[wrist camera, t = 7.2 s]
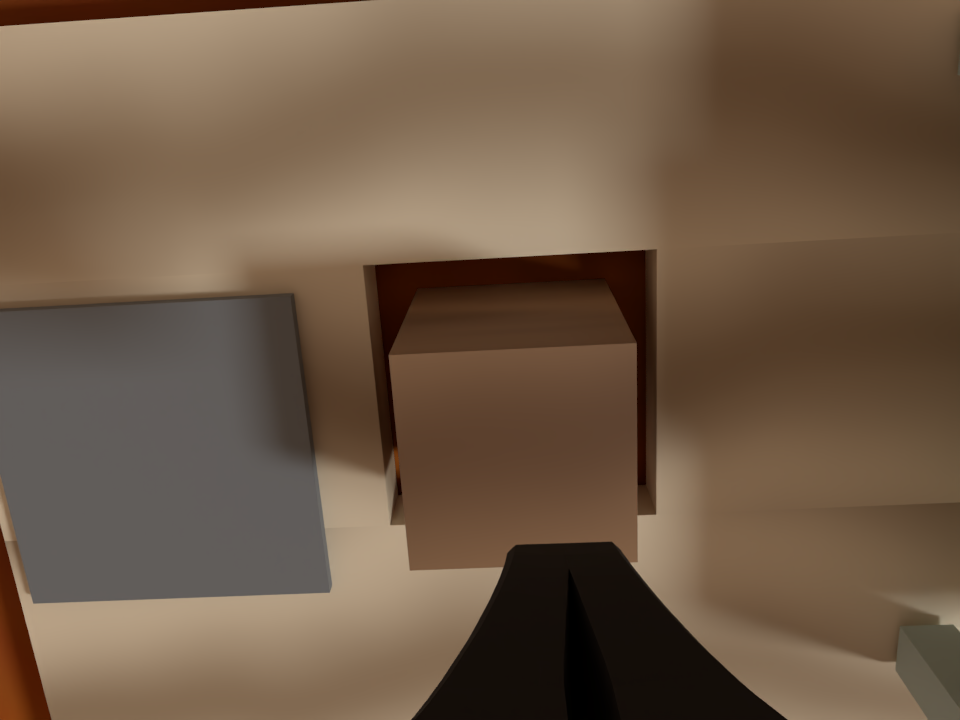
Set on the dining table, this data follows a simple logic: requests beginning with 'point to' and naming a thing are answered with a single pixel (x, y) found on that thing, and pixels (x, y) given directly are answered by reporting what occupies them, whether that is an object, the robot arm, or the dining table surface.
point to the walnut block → (515, 421)
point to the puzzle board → (517, 233)
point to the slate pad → (160, 450)
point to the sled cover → (931, 664)
